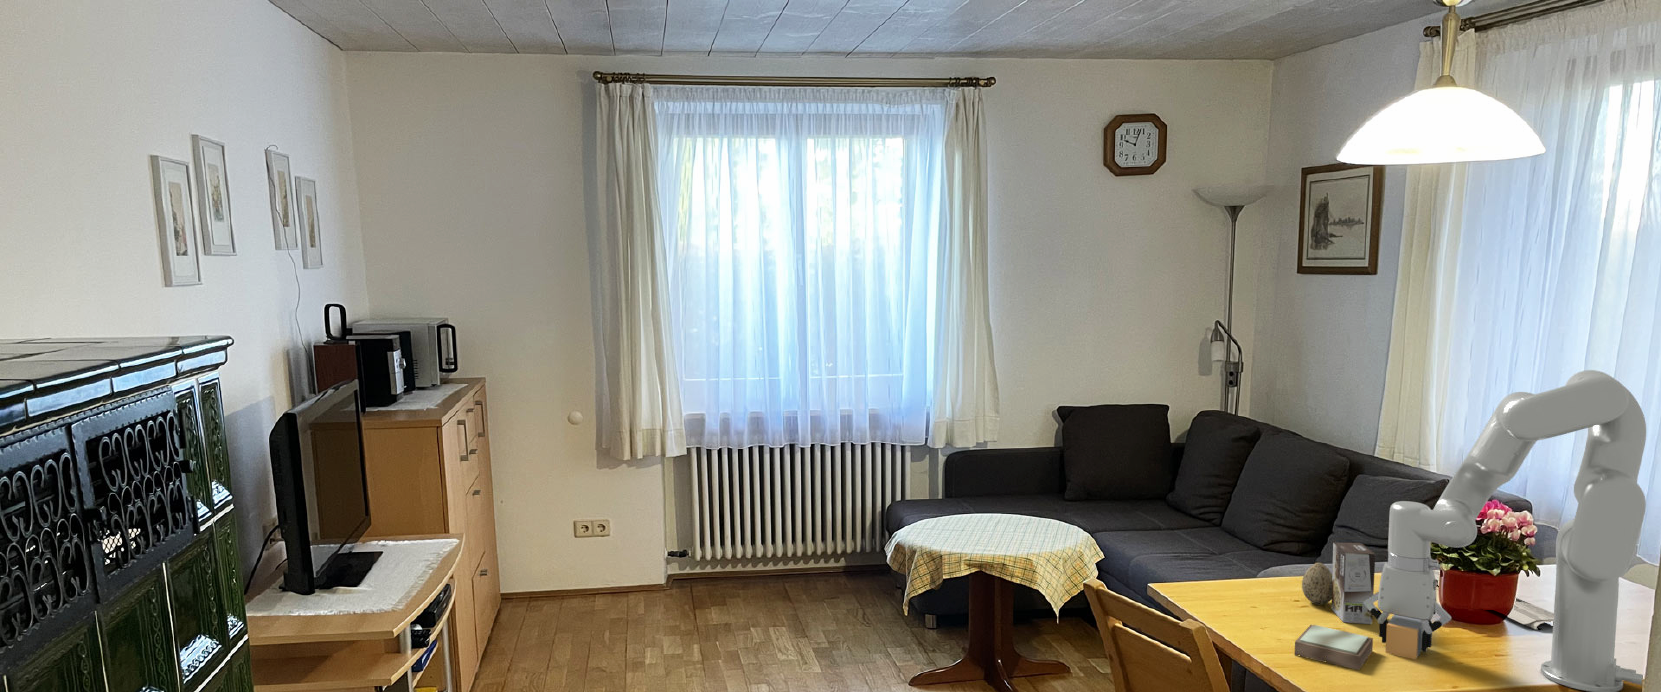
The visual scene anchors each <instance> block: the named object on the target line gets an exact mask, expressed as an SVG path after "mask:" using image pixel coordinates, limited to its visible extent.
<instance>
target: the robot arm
mask: <svg viewBox="0 0 1661 692" xmlns="http://www.w3.org/2000/svg"><path fill="white" fill-rule="evenodd" d="M1584 429H1585V430H1586V429H1587V437H1586V440H1585V441H1586V442H1585V447H1584V452H1583V456H1582V459H1581V461H1580V466H1579V471H1578V473H1577V476H1576V478H1575V481H1574V483H1573V494H1574V498H1575V500H1576V501H1577V503H1578V504H1577V509H1576V512H1575V516H1574V518H1571V519H1570V520H1567V522H1565V523H1564V524H1563V525H1562V526H1561V527H1560V528H1559V530H1558V533H1557V535H1556V539H1555V541H1556V542H1555V563H1556V564H1555V566H1556V567H1555V569H1556V571H1555V574H1556V575H1555V590H1554V591H1555V593H1554V603H1553V604H1554V606H1553V608H1554V609H1553V613H1554V620H1553V627H1552V639H1551V654H1550V655H1551V659H1550V660H1547V661H1544V662H1543V663H1541V664H1540V672H1541V674H1542V675H1543V676H1544V677H1545V678H1547V679H1549V680H1550V681H1553V682H1554V683H1557V684H1559V685H1562V686H1565V687H1568V688H1572V689H1576V690H1581V691H1586V692H1619V691H1621V690H1623V688H1624V681H1625V682H1629V683H1631V684H1636V685H1640V686H1643V685H1642V679H1643V675H1644V674H1641V673H1637V670H1636V669H1635V670H1634V669H1632V668H1625V667H1621V666H1620V665H1618V664H1617V658H1615V651H1616V649H1615V647H1616V634H1617V632H1616V631H1617V619H1618V606H1619V604H1618V603H1619V588H1620V587H1619V585H1620V583H1619V581H1620V579H1619V578H1621V577H1622V576H1623V575H1624V574H1625V573H1626V572H1627V571H1628V570H1629V568H1630V565H1631V563H1632V561H1633V558H1634V555H1635V551H1636V548H1637V544H1638V541H1639V538H1640V534H1641V529H1642V526H1643V523H1644V519H1645V514H1646V506H1647V505H1646V502H1647V501H1646V497H1645V496H1646V495H1645V493H1644V491H1643V490H1642V488H1641V486H1640V485H1639V484H1638V477H1639V474H1640V471H1641V470H1640V469H1641V465H1642V461H1643V456H1644V451H1645V448H1646V447H1645V446H1646V440H1647V423H1646V418H1645V416H1644V413H1643V410H1642V407H1641V406H1640V404H1639V402H1638V401H1637V399H1636V397H1635V396H1634V395H1633V394H1632V393H1631V391H1630V390H1629V389H1628V388H1627V387H1626V386H1624V385H1623V384H1622V383H1621V382H1620V381H1619V380H1617V379H1615V378H1614V377H1612V376H1611V375H1610V374H1607V373H1606V372H1603V371H1600V370H1594V369H1588V370H1582V371H1579V372H1577V373H1575V374H1573V375H1572V376H1571V377H1570V378H1568V380H1567V382H1566V383H1565V385H1563V386H1560V387H1557V388H1553V389H1550V390H1547V391H1542V392H1539V393H1535V394H1534V393H1533V392H1532V393H1531V392H1527V391H1516V392H1512V393H1509V394H1508V395H1506V396H1505V397H1504V398H1502V400H1501V401H1500V402H1499V404H1498V405H1497V406H1496V408H1495V410H1494V411H1493V413H1492V415H1491V417H1490V418H1489V419H1488V421H1487V423H1486V424H1485V426H1484V428H1483V430H1482V431H1481V433H1480V435H1478V438H1477V439H1476V441H1475V442H1474V444H1473V446H1472V447H1471V449H1470V451H1469V452H1468V454H1467V456H1466V457H1465V458H1464V459H1463V460H1462V463H1461V465H1460V466H1459V468H1458V470H1456V471H1455V473H1454V475H1453V476H1452V478H1451V479H1450V481H1449V482H1448V484H1447V486H1446V487H1445V489H1444V490H1443V492H1442V493H1441V495H1440V497H1439V499H1438V500H1437V502H1436V503H1435V506H1434V507H1433V509H1431V508H1430V506H1428V505H1427V504H1424V503H1421V502H1416V501H1410V500H1409V501H1405V500H1401V501H1395V502H1394V503H1392V504H1391V505H1390V508H1389V519H1388V543H1387V562H1385V563H1384V564H1383V567H1382V570H1381V576H1380V580H1379V588H1378V591H1377V592H1376V593H1375V592H1374V594H1373V595H1372V596H1370V597H1368V598H1367V599H1365V600H1364V601H1363V603H1364V605H1365V606H1366V607H1367V608H1368V609H1369V610H1370V612H1371V614H1372V615H1373V616H1372V617H1373V618H1374V619H1376V620H1377V623H1378V624H1379V625H1378V626H1379V627H1378V628H1379V629H1378V637H1379V638H1381V643H1382V644H1386V632H1387V624H1388V622H1389V619H1388V617H1389V616H1390V615H1399V616H1404V617H1409V618H1414V619H1420V621H1421V623H1422V625H1423V627H1424V631H1423V633H1422V648H1421V652H1423V653H1426V652H1427V650H1428V648H1431V647H1432V642H1433V641H1432V640H1433V638H1432V637H1433V632H1435V631H1437V630H1438V629H1440V628H1441V627H1443V626H1444V625H1446V624H1448V623H1449V622H1451V620H1452V616H1451V615H1450V614H1449V613H1448V612H1447V611H1446V610H1445V609H1444V608H1443V607H1442V606H1441V605H1440V604H1439V603H1438V602H1437V586H1436V581H1435V575H1434V571H1433V570H1434V569H1431V568H1436V569H1438V567H1439V561H1437V560H1434V559H1433V558H1432V557H1431V543H1434V544H1438V545H1442V546H1446V547H1450V548H1463V547H1464V548H1465V547H1467V546H1469V545H1471V544H1472V543H1474V541H1475V540H1476V538H1477V535H1478V528H1477V523H1476V520H1477V518H1478V517H1479V515H1480V513H1481V511H1482V510H1483V509H1484V507H1485V505H1486V503H1487V502H1488V501H1489V499H1490V498H1491V496H1493V494H1494V493H1495V492H1496V491H1497V489H1499V488H1500V487H1501V486H1503V485H1505V484H1506V483H1508V482H1510V481H1511V480H1512V479H1513V478H1514V477H1515V476H1516V475H1517V473H1518V471H1519V469H1520V468H1521V466H1522V465H1523V463H1524V461H1525V460H1526V458H1527V456H1528V455H1529V453H1530V452H1531V450H1532V448H1533V447H1534V445H1535V444H1536V443H1537V441H1538V442H1539V441H1542V440H1547V439H1551V438H1556V437H1559V436H1562V435H1567V434H1570V433H1575V432H1577V431H1581V430H1584ZM1375 602H1377V606H1378V607H1376V605H1375ZM1436 614H1437V616H1439V618H1438V619H1437V620H1434V621H1432V619H1433V616H1434V615H1436Z"/></svg>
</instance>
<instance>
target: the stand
mask: <svg viewBox="0 0 1661 692" xmlns="http://www.w3.org/2000/svg"><path fill="white" fill-rule="evenodd" d="M1373 643H1374V637H1369V636H1368V635H1363V634H1358V633H1353V632H1350V631H1345V630H1340V629H1339V630H1338V629H1334V628H1330V627H1326V626H1322V625H1318V624H1317V625H1316V624H1310V625H1309V626H1308V627H1307V628H1306V629H1305V630H1304V631H1303V632H1302V633H1301V635H1300V636H1298V637H1297V639H1296V640H1295V641H1294V656H1298V655H1300V656H1299V657H1302V656H1303V657H1302V658H1306V657H1308V658H1307V659H1310V658H1312V659H1311V660H1314V659H1315V660H1316V661H1319V662H1323V661H1326V662H1325V663H1327V662H1328V664H1332V665H1335V666H1340V667H1343V668H1344V667H1345V668H1349V669H1353V670H1357V671H1360V670H1361V668H1362V667H1363V665H1364V664H1365V662H1366V661H1367V660H1368V658H1369V657H1370V655H1371V654H1372V653H1373V649H1374V646H1373Z"/></svg>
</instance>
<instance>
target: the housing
mask: <svg viewBox="0 0 1661 692" xmlns="http://www.w3.org/2000/svg"><path fill="white" fill-rule="evenodd" d="M1423 631H1424V627H1423V625H1422V623H1421V621H1420V619H1414V618H1409V617H1404V616H1399V615H1394V614H1392V617H1391V618H1390V619H1389V620H1388V624H1387V632H1386V643H1385V653H1386V654H1390V655H1393V656H1394V655H1395V656H1399V657H1402V658H1403V657H1404V658H1407V659H1410V660H1411V659H1412V660H1417V659H1418V657H1419V656H1420V654H1421V652H1422V651H1421V648H1422V633H1423Z"/></svg>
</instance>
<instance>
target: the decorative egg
mask: <svg viewBox="0 0 1661 692" xmlns="http://www.w3.org/2000/svg"><path fill="white" fill-rule="evenodd" d="M1301 581H1302V582H1301V590H1302V593H1303V595H1304V596H1305V598H1306V599H1307V600H1308V601H1310V602H1311V603H1313V604H1315V605H1326V604H1328V603H1329V602H1332V572H1331V570H1329V568H1328V567H1327V566H1326V565H1325V564H1324V563H1322V562H1315V563H1314V564H1312V565H1311V566H1310V567H1308V569H1307V570H1306V571H1305V573H1304V574H1303V577H1302V580H1301Z"/></svg>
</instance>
